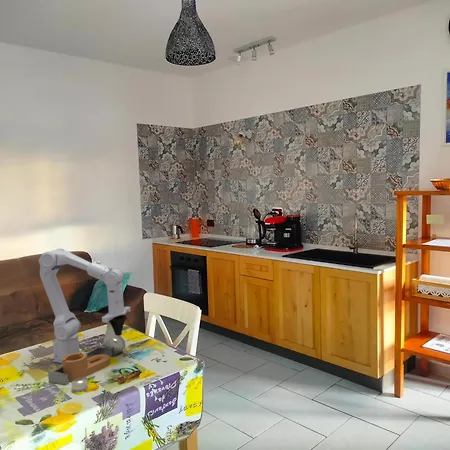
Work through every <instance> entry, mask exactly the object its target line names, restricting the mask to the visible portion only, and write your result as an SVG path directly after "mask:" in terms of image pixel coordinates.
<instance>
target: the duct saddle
mask: <svg viewBox="0 0 450 450" xmlns="http://www.w3.org/2000/svg"><path fill="white" fill-rule="evenodd" d="M125 349H126V341H125V339H124V338H123V337H122V335H120V336H114V337H113V338H111V339H109V340H107V341H106V342H105V344H103V345H102V346H101V345H99V346H97V347H95V348H93V349H91V350H89V351H88V352H86V353H85V354H87V358H89V357H92V356H95V355H100V354H106V355H109V356H110V358H114V357H115V356H116V355H118V354H119V353H121V352H123V350H125ZM47 377H48V379H47V380H48V382H49V383H52V384H57V385H62V386H67V385H69V384H70V383H69V382H70V381H68V374H66V373H63V365H62V366H60V367H58V368H56V369H55V370H52V371H50V372H49V373H47Z"/></svg>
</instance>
